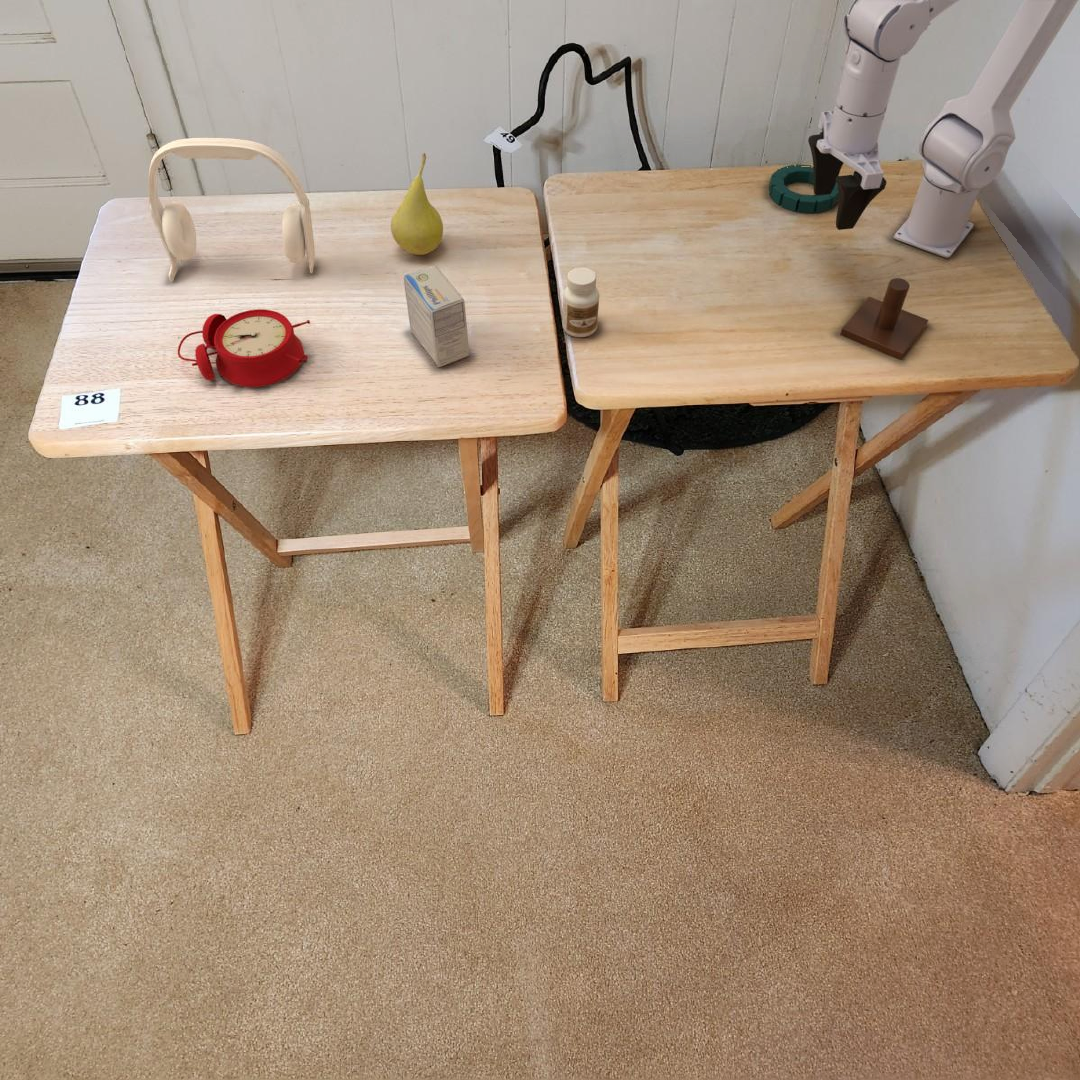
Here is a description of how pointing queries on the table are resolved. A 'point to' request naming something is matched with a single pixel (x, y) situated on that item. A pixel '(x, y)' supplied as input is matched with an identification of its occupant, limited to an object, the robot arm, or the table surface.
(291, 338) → the alarm clock
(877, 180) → the robot arm
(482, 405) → the table surface
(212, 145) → the headset
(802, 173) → the ring
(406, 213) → the fruit
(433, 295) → the medicine box
